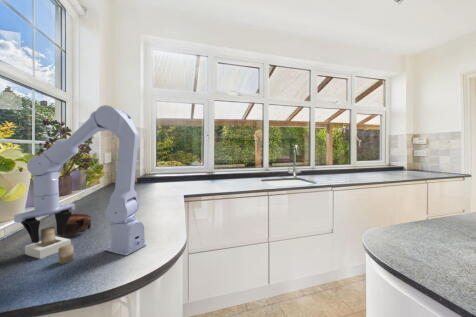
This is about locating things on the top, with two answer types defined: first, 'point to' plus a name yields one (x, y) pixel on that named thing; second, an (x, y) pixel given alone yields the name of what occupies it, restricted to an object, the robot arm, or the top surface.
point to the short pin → (66, 254)
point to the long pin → (47, 236)
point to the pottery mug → (77, 224)
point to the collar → (46, 248)
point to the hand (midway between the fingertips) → (48, 238)
